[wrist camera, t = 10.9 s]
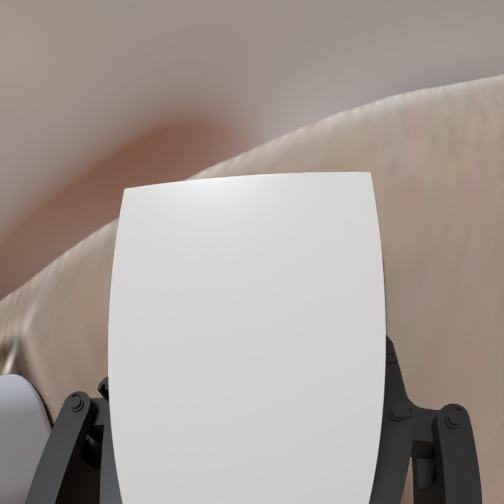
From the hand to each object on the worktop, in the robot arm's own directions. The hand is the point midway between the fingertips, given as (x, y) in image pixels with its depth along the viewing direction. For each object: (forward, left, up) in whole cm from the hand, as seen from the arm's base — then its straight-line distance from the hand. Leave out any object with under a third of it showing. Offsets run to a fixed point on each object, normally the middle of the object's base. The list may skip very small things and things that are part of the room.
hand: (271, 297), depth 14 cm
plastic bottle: (+29, +18, -7) cm, 34 cm away
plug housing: (0, +4, -4) cm, 5 cm away
